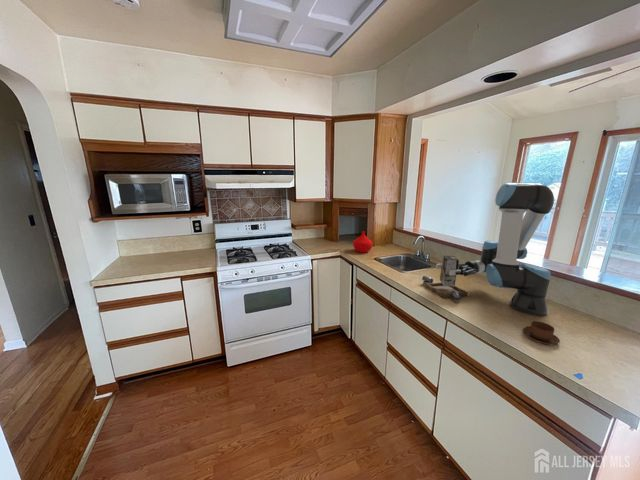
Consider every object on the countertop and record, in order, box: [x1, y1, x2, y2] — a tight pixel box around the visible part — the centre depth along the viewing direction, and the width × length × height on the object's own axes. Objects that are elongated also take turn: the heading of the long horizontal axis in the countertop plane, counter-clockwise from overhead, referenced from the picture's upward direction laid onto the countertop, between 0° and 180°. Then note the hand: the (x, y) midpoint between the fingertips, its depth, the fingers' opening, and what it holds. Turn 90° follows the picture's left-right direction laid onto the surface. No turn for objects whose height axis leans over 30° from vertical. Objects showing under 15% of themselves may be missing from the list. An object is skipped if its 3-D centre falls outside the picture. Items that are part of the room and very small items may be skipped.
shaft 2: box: [450, 291, 462, 304], centre depth 138 cm, size 6×3×5 cm, turn 174°
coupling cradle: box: [425, 281, 469, 300], centre depth 151 cm, size 16×16×2 cm
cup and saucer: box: [522, 320, 561, 346], centre depth 106 cm, size 12×12×6 cm
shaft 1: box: [421, 275, 434, 286], centre depth 160 cm, size 6×3×5 cm, turn 35°
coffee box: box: [439, 255, 460, 287], centre depth 148 cm, size 9×6×16 cm
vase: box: [352, 230, 374, 254], centre depth 234 cm, size 18×18×19 cm
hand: (443, 269), depth 147 cm, fingers closed on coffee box, 10 cm apart
